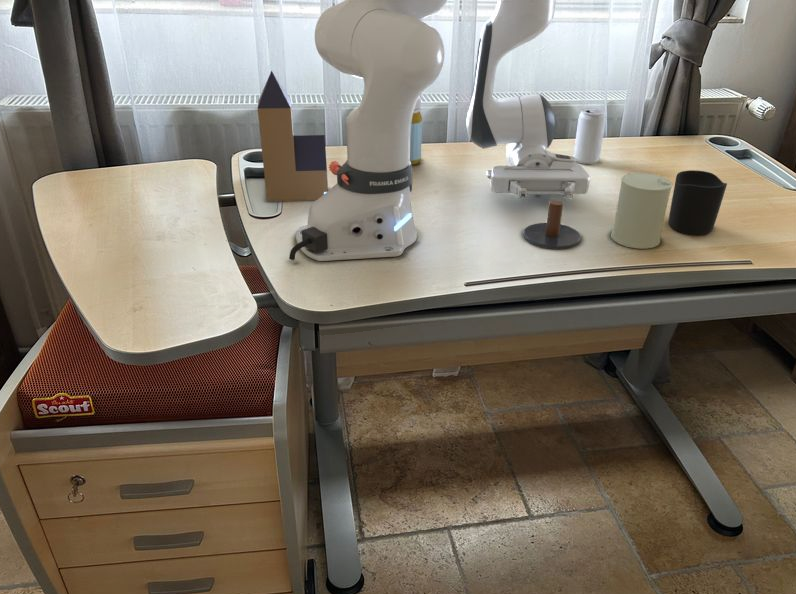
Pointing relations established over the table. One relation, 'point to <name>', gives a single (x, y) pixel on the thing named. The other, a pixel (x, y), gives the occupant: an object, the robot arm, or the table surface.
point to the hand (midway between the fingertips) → (545, 194)
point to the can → (641, 210)
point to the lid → (552, 230)
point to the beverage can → (589, 135)
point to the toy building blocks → (288, 150)
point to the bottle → (416, 135)
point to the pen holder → (696, 202)
